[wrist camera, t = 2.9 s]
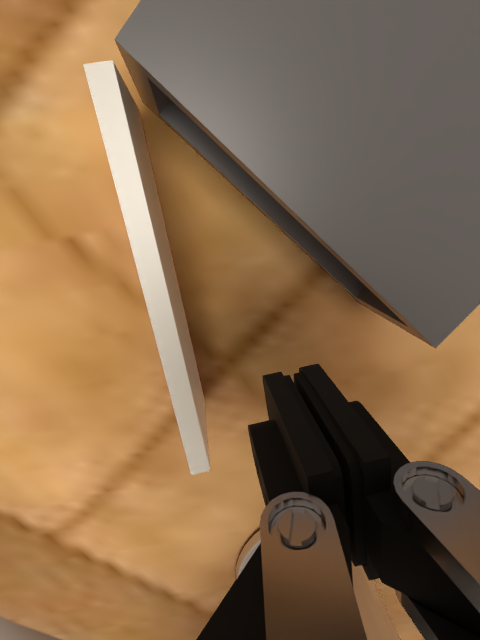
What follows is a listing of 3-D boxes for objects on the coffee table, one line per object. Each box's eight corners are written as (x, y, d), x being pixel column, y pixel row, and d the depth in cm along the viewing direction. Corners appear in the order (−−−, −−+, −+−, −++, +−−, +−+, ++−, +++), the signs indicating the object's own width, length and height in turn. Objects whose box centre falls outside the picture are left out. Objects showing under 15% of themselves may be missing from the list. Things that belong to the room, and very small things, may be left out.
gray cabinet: (360, 304, 25) (435, 348, 18) (120, 81, 19) (77, 3, 11) (537, 113, 23) (711, 69, 15) (325, -213, 16) (441, -558, 9)
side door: (190, 401, 25) (191, 475, 18) (120, 113, 19) (83, 64, 12) (204, 397, 25) (210, 470, 18) (138, 110, 19) (112, 60, 12)
